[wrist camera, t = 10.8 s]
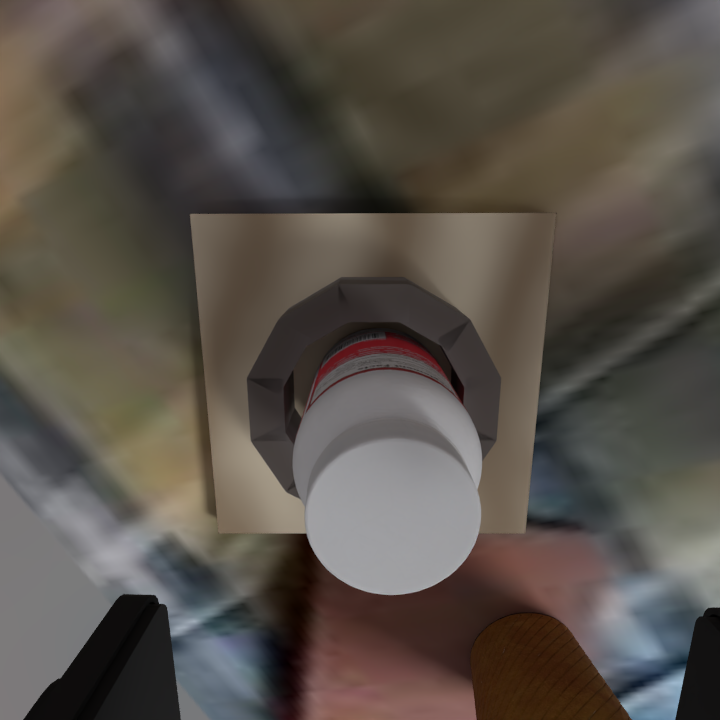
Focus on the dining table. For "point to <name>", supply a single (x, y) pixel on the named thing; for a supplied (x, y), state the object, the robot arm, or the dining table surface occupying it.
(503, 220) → the socket board
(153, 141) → the dining table surface
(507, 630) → the disposable coffee cup
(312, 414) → the pill bottle
